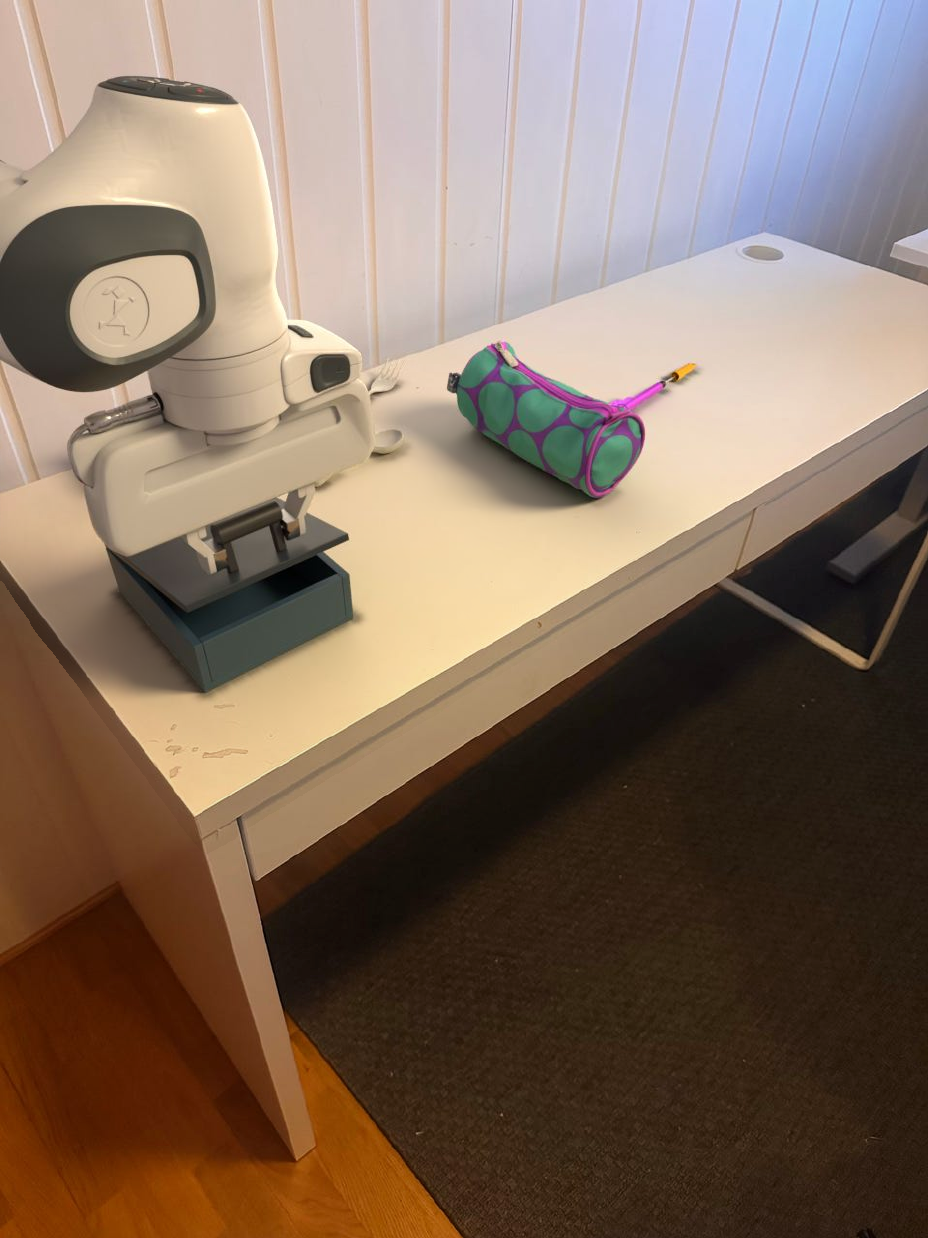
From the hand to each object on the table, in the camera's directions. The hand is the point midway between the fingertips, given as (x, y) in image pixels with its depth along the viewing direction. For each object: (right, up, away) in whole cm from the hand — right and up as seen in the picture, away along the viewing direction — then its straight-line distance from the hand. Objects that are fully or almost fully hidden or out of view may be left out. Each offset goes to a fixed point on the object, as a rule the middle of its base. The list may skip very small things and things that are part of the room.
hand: (254, 550), depth 65 cm
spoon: (+4, +11, +26) cm, 29 cm away
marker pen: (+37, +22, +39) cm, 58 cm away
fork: (+4, +19, +36) cm, 41 cm away
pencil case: (+23, +12, +28) cm, 38 cm away
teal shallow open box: (-4, -4, +9) cm, 11 cm away
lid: (-4, +1, +5) cm, 6 cm away
